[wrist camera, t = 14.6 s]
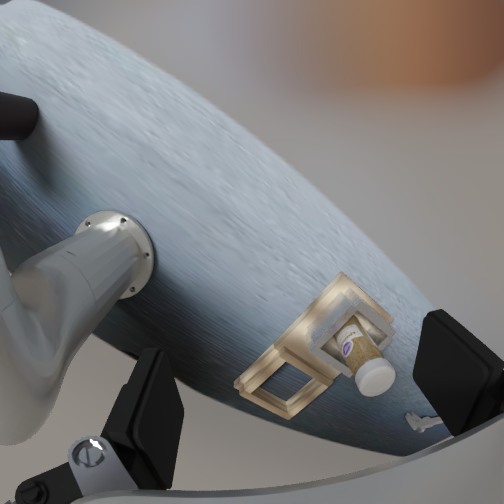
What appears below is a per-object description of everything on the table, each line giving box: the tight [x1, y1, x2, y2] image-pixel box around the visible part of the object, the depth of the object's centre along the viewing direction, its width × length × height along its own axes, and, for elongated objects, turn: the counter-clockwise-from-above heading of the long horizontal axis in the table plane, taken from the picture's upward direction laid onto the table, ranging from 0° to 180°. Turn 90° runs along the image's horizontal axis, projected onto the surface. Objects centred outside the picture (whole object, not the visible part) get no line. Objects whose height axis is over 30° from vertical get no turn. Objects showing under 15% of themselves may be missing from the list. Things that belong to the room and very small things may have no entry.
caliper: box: [405, 412, 444, 433], centre depth 50 cm, size 20×1×6 cm, turn 70°
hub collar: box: [304, 287, 396, 378], centre depth 40 cm, size 9×9×4 cm
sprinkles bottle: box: [333, 315, 396, 397], centre depth 36 cm, size 5×5×14 cm
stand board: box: [234, 272, 394, 420], centre depth 43 cm, size 24×12×3 cm, turn 140°
